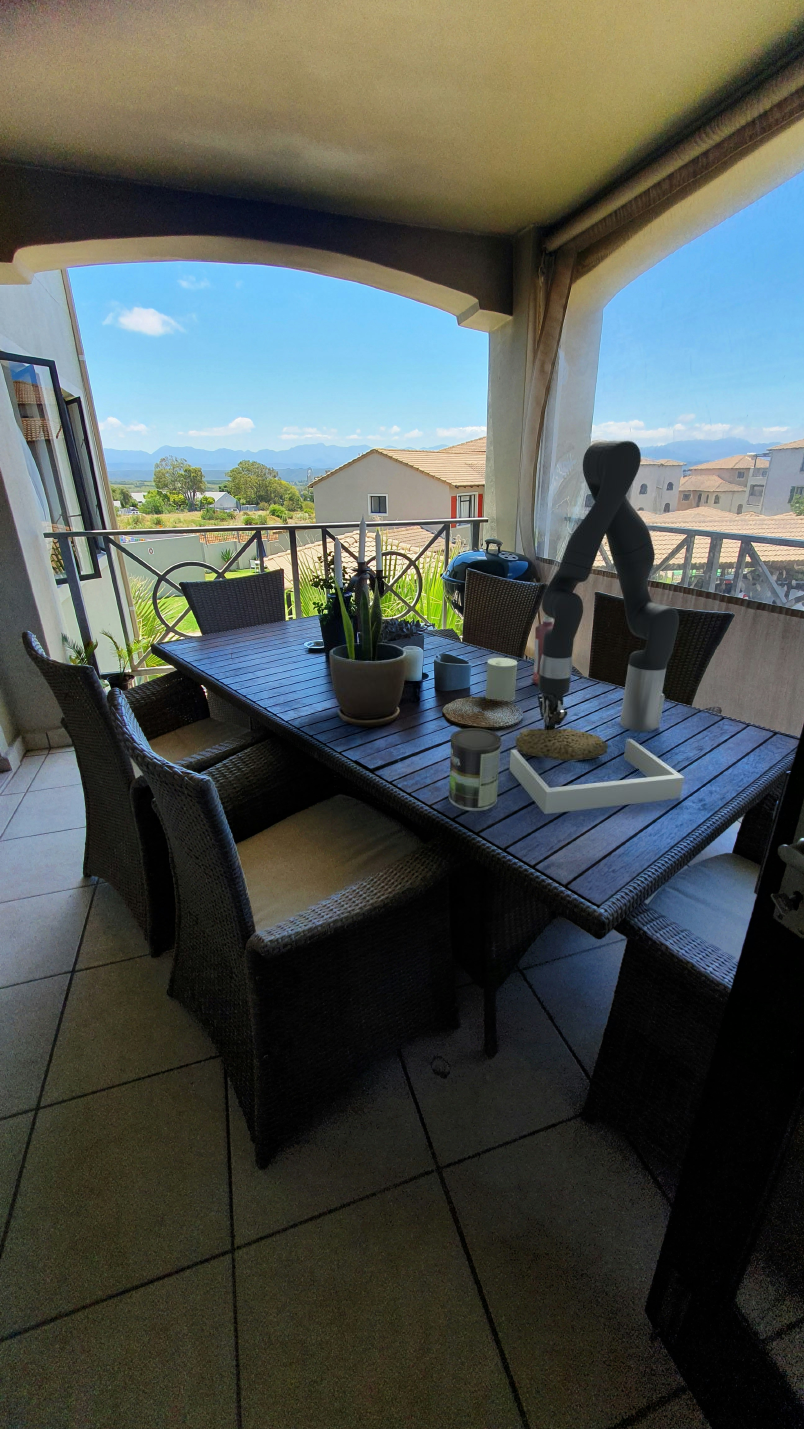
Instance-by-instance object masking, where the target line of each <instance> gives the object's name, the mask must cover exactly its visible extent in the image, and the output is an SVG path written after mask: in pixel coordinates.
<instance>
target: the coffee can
mask: <svg viewBox="0 0 804 1429" xmlns="http://www.w3.org/2000/svg"><path fill="white" fill-rule="evenodd" d="M501 745H502V737H501V736H500V735H499V734H498V733H497V732H495V731H492V730H488V729H485V728H479V727H478V728H477V727H469V728H462V729H459V730H456V731H454V732H453V733H451V734H450V757H449V758H450V760H449V762H450V763H449V786H448V787H449V788H448V790H449V791H448V799H449V802H450V803H451V804H452V805H453V806H455V807H456V808H458V809H461V810H465V811H469V812H480V811H481V812H482V811H485V810H489V809H491V808H493V807H494V806H495V805H496V804H497V801H498V786H499V785H498V784H499V783H498V782H499V773H500V772H499V771H500V759H501Z"/></svg>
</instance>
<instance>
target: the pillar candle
mask: <svg viewBox="0 0 804 1429" xmlns="http://www.w3.org/2000/svg"><path fill="white" fill-rule="evenodd" d="M486 663H487V665H486V669H487V670H486V683H485V685H486V687H485V695H484V696H485V699H487V698H488V699H497V700H504V701H508V702H507V703H509V702H510V703H511V702H512V701H514V700H515V699H516V681H517V670H518V669H517V668H518V661H517V660H515V659H513V658H509V657H493V658H489V659H487V661H486ZM488 699H487V700H488Z"/></svg>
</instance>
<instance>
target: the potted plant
mask: <svg viewBox="0 0 804 1429" xmlns="http://www.w3.org/2000/svg"><path fill="white" fill-rule="evenodd" d="M329 576H330V577H331V578H332V579H333V580H334V582H335V586H336V590H337V594H338V599H339V603H340V608H341V615H342V622H343V623H342V624H343V630H344V634H345V640H346V644H343V645H339V646H336V647H333V648H332V649H330V651H329V669H330V676H331V682H332V688H333V693H334V695H335V696H334V697H335V699H336V701H337V704H338V705H339V708H338V710H337V712H338V716H339V717H340V718H341V719H342V721H343V722H345V723H348V724H351V725H354V726H357V727H365V728H367V727H368V728H369V727H370V728H371V727H378V726H379V727H380V726H385V725H388V724H390V723H392V722H393V721H395V719H397V717H398V715H399V714H400V708H399V707H398V706H399V704H400V702H401V699H402V695H403V692H404V691H403V690H404V686H405V685H404V684H405V681H406V680H405V679H406V671H407V656H408V655H407V654H408V653H407V651H406V649H405V648H402V647H400V646H398V645H395V644H389V643H382V642H380V643H379V639H380V637H381V636H380V635H381V633H382V631H383V610H382V606H381V599H380V598H381V597H380V592H379V588H378V580H377V578H375V580H374V584H375V585H374V586H375V587H374V594H373V599H372V602H371V608H370V605H369V603H370V602H369V600H368V595H367V593H366V590H365V588H364V587H363V588H362V589H361V590H362V591H361V597H360V603H359V612H360V620H361V621H360V622H361V628H362V630H361V631H362V634H361V635H362V639H361V640H362V643H355V636H354V634H355V633H354V628H353V624H352V622H351V619H350V616H349V614H348V612H347V609H346V607H345V603H344V599H343V594H342V592H341V589H340V588H341V587H340V586H339V584H338V582H337V579H336V578H335V577H334V576H333V575H332V574H329Z"/></svg>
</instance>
